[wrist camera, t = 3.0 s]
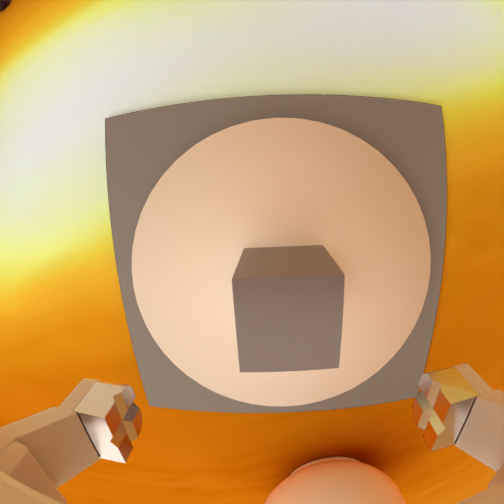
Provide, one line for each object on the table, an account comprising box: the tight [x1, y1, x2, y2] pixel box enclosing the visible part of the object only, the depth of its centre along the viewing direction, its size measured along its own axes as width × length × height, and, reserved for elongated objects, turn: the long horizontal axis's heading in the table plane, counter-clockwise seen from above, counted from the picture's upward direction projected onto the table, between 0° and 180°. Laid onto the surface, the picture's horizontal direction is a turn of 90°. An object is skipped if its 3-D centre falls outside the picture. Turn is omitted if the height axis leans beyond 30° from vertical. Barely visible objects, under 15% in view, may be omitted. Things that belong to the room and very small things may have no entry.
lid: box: [132, 118, 431, 406], centre depth 14 cm, size 17×17×6 cm
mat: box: [105, 94, 447, 413], centre depth 17 cm, size 20×20×1 cm
